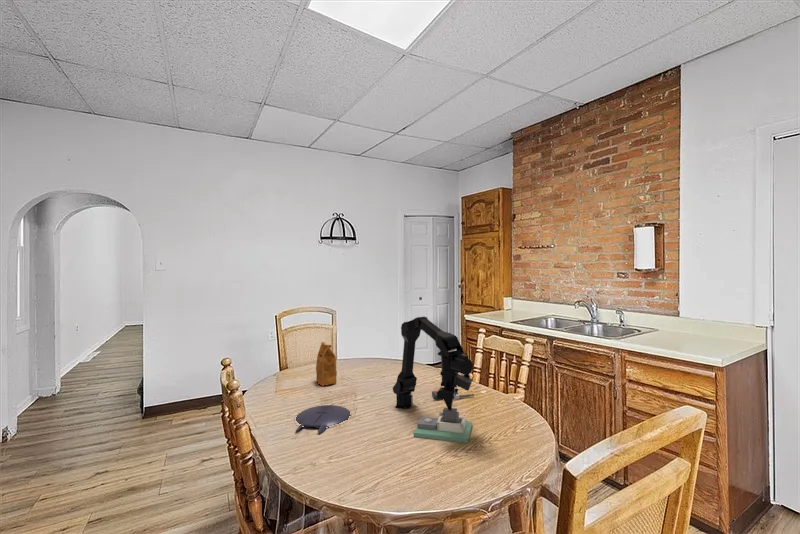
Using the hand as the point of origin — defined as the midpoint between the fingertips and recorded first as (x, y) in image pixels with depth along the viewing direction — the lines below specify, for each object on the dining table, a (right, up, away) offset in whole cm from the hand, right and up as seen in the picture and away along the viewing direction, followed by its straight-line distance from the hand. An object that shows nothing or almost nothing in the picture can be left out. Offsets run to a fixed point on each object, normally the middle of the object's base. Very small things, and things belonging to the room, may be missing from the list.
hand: (449, 409), depth 145 cm
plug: (0, -7, 0) cm, 7 cm away
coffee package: (-59, -10, +63) cm, 87 cm away
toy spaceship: (-52, -10, +15) cm, 55 cm away
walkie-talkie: (+6, -9, +37) cm, 39 cm away
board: (-2, -9, +1) cm, 9 cm away
